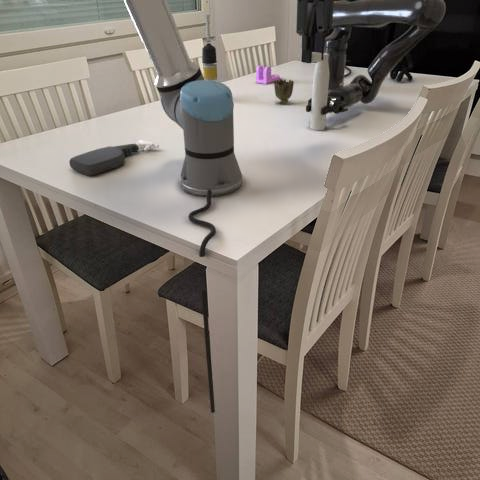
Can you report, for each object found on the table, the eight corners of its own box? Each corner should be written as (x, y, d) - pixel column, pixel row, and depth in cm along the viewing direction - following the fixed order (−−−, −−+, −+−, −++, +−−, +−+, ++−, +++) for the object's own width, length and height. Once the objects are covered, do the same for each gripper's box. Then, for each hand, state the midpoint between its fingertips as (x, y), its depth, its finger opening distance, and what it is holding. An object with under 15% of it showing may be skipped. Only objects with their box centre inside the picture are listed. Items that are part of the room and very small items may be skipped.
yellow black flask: (220, 99, 177) (217, 15, 161) (206, 100, 176) (202, 16, 160) (215, 96, 182) (212, 14, 166) (202, 97, 180) (197, 14, 164)
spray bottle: (67, 168, 120) (139, 144, 136) (91, 178, 114) (163, 151, 130) (65, 157, 118) (137, 134, 134) (89, 167, 112) (162, 142, 128)
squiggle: (400, 92, 202) (376, 71, 205) (417, 76, 202) (392, 56, 205) (405, 81, 191) (380, 59, 194) (423, 64, 191) (397, 42, 194)
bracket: (266, 84, 198) (266, 67, 194) (256, 82, 201) (256, 66, 197) (281, 78, 207) (282, 62, 203) (271, 77, 210) (272, 61, 206)
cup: (270, 104, 170) (270, 82, 166) (278, 99, 176) (278, 78, 171) (288, 106, 167) (289, 84, 163) (295, 101, 173) (296, 80, 168)
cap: (312, 63, 117) (313, 55, 116) (300, 60, 120) (301, 53, 120) (324, 60, 120) (325, 53, 119) (312, 58, 123) (313, 51, 122)
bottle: (308, 125, 148) (313, 52, 136) (323, 125, 148) (329, 52, 136) (311, 130, 143) (316, 55, 131) (326, 130, 144) (332, 55, 132)
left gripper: (308, -41, 100) (302, 68, 113) (352, -42, 111) (343, 58, 123) (283, -41, 105) (280, 64, 117) (328, -42, 115) (321, 54, 128)
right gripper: (323, 84, 153) (296, 94, 142) (361, 90, 145) (335, 101, 134) (321, 106, 157) (294, 118, 146) (359, 113, 149) (333, 126, 138)
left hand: (312, 60), depth 120 cm, fingers closed on cap, 4 cm apart
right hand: (314, 110), depth 140 cm, fingers closed on bottle, 5 cm apart
